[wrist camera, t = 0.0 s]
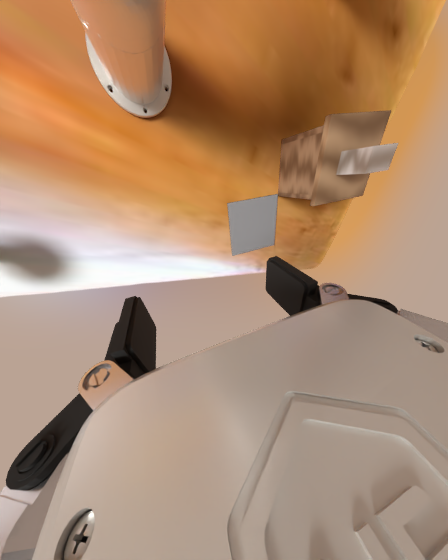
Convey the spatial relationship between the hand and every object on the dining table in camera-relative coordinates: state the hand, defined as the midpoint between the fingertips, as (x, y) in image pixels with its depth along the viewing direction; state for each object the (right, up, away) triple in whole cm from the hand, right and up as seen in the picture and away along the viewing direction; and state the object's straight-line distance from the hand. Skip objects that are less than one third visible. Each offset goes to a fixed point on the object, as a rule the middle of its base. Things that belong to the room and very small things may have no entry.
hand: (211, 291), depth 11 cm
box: (+23, +34, +34) cm, 53 cm away
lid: (+27, +27, +23) cm, 45 cm away
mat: (+10, +18, +39) cm, 44 cm away
